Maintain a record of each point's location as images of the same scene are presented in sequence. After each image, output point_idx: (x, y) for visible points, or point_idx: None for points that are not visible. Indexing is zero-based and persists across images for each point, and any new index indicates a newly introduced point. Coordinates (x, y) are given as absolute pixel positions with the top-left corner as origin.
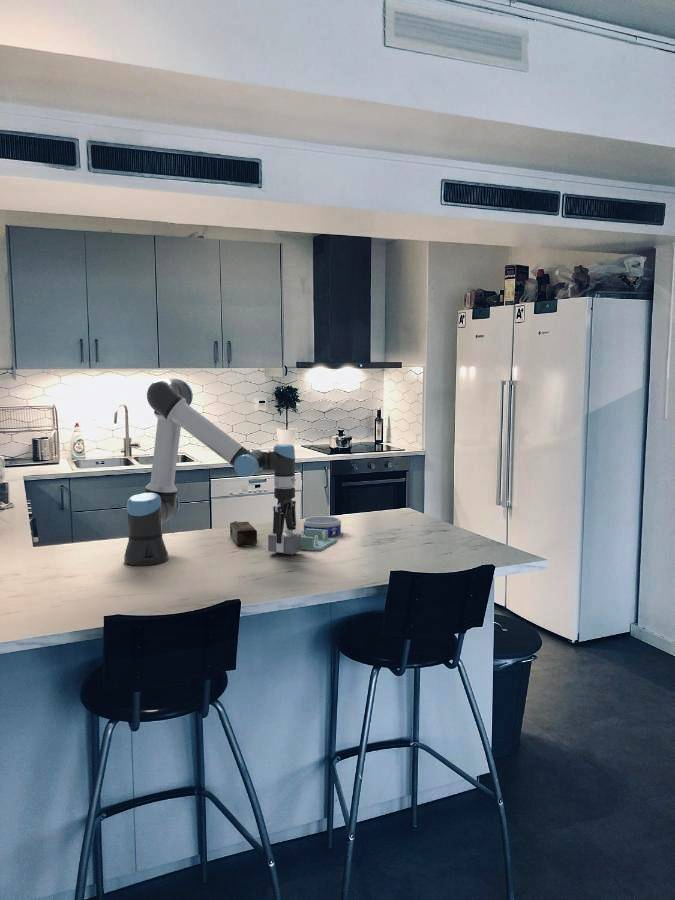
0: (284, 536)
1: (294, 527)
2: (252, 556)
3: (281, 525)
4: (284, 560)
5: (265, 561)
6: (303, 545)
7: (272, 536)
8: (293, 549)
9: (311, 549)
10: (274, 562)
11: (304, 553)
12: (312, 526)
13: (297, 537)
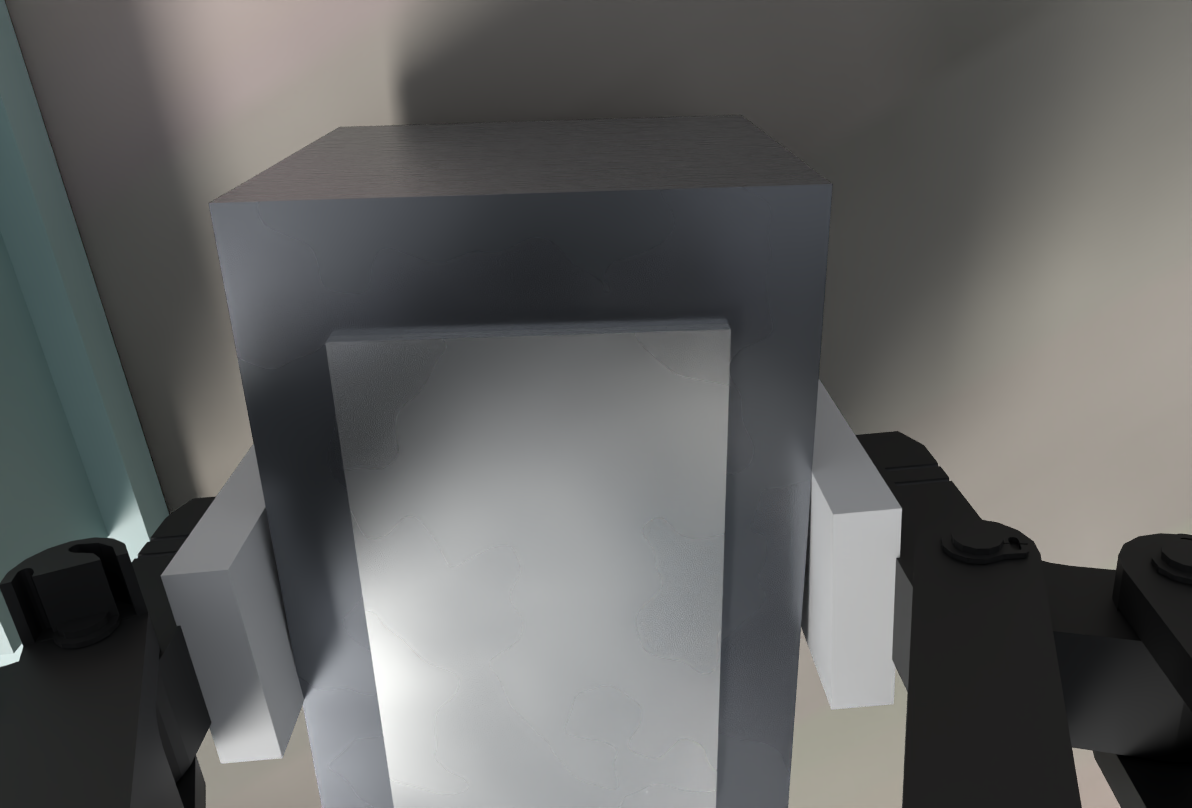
0: (753, 488)
1: (30, 618)
2: (892, 723)
3: (1064, 770)
4: (985, 130)
5: (1134, 405)
6: (1, 276)
7: (788, 761)
8: (695, 129)
9: (6, 36)
10: (1169, 228)
11: (321, 43)
12: None
13: (470, 183)
